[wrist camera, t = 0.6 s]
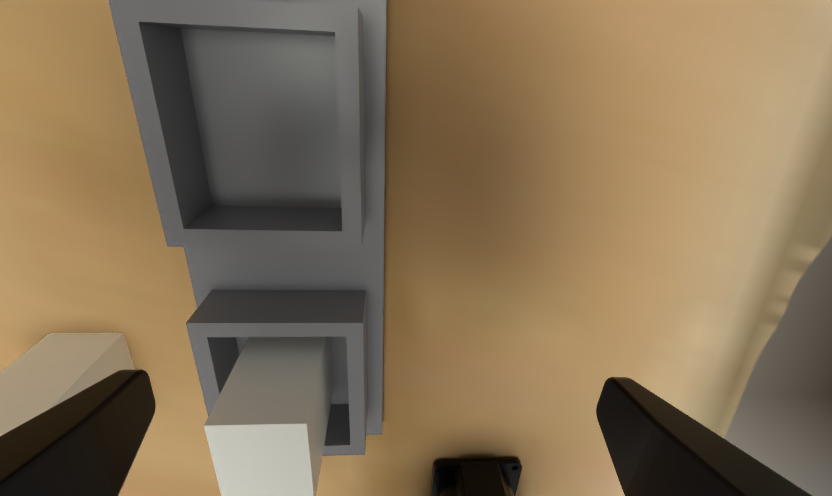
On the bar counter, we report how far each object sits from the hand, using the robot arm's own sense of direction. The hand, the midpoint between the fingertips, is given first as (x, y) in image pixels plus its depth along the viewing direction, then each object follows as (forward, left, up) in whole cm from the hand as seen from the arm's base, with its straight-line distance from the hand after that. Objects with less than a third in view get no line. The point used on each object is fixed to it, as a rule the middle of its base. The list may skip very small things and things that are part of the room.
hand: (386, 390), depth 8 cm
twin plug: (-10, +5, -13) cm, 17 cm away
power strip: (-3, +5, -14) cm, 15 cm away
